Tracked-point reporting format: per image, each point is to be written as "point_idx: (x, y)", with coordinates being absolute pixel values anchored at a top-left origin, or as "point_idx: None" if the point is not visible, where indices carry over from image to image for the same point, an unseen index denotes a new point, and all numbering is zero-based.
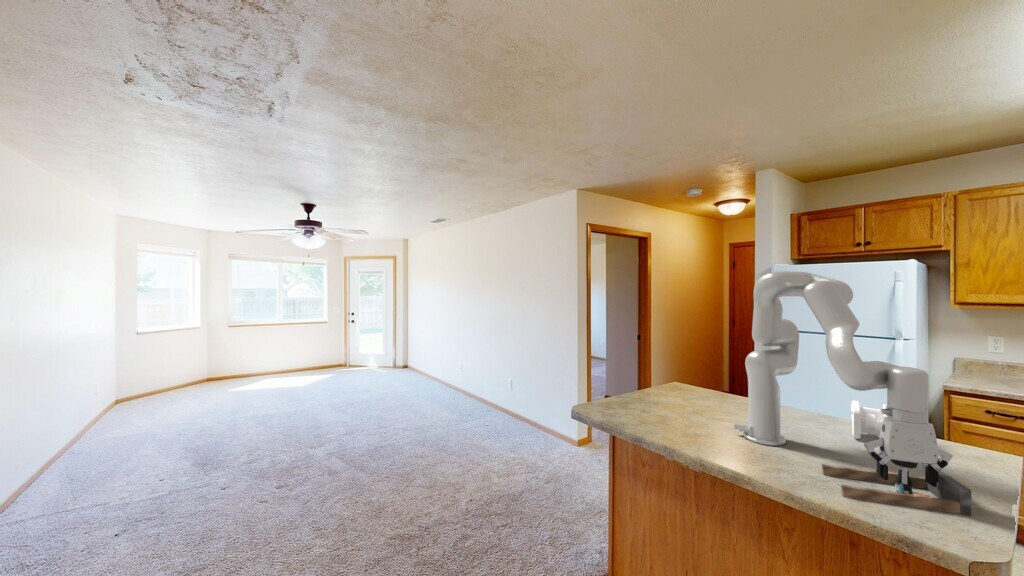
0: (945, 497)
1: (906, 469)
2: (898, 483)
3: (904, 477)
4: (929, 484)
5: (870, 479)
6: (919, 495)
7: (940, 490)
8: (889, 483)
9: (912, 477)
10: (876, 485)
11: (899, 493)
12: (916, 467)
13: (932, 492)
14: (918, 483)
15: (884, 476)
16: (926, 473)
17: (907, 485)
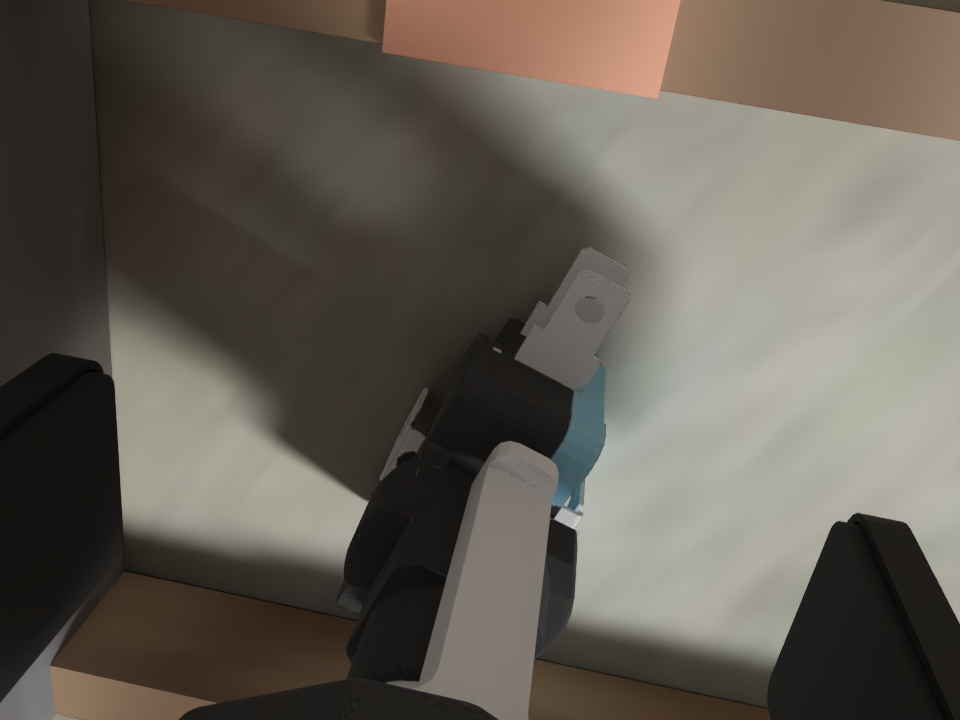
0: (50, 241)
1: (452, 685)
2: (561, 524)
3: (516, 546)
4: None
5: (715, 717)
6: (593, 10)
7: None
8: None
9: (202, 700)
10: (728, 601)
11: (942, 91)
12: (190, 716)
13: None
14: (170, 627)
15: (917, 577)
16: (24, 637)
17: (481, 449)
